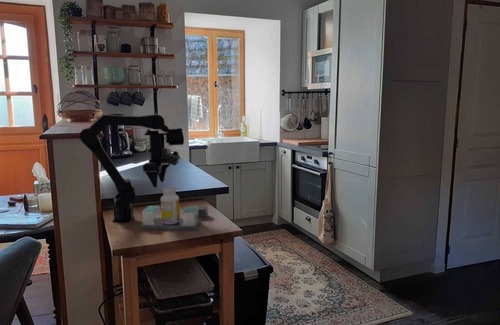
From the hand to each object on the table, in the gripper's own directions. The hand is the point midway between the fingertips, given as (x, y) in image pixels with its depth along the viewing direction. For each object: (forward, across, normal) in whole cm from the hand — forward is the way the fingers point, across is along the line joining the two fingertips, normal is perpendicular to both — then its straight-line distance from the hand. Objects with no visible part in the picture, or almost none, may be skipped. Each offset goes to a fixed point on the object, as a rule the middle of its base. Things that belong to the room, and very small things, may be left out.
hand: (158, 184), depth 154 cm
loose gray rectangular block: (+13, -1, -17) cm, 22 cm away
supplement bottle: (+12, -12, -8) cm, 19 cm away
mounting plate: (+13, -12, -8) cm, 19 cm away
